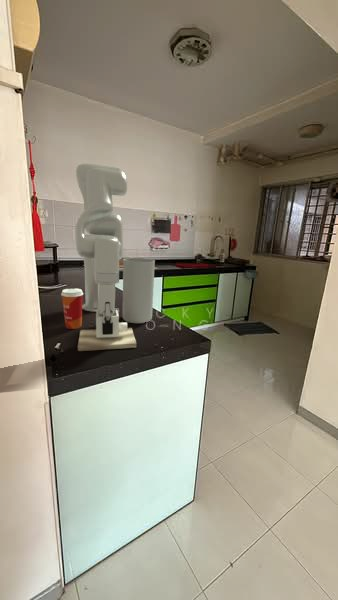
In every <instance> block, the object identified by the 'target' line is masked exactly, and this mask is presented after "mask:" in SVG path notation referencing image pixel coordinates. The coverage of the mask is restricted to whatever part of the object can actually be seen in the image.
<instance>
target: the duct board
mask: <svg viewBox="0 0 338 600" xmlns="http://www.w3.org/2000/svg"><path fill="white" fill-rule="evenodd" d="M132 348H133V349H134V348H135V349H136V348H137V340H136V338H135V334H134V331H133V327H127V331H119V337H114V339H101V337H99V338H96V328H95V329H80V331H79V337H78V343H77V352H84V351H85V352H86V351H100V350H101V351H103V350H117V349H118V350H119V349H132Z"/></svg>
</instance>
